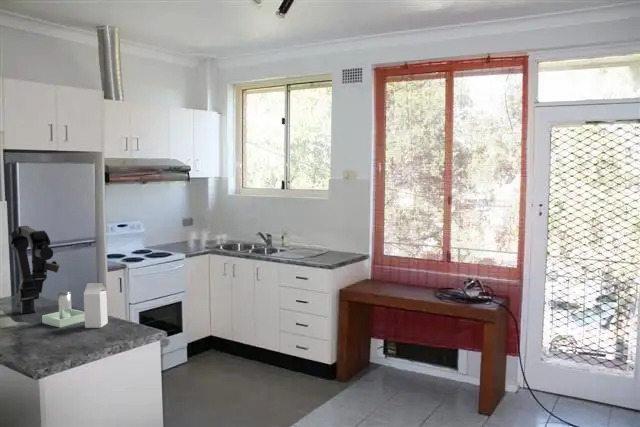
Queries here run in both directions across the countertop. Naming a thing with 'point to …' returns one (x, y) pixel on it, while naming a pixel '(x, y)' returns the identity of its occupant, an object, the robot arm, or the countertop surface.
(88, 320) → the milk carton
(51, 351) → the countertop surface
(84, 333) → the countertop surface
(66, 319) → the tray
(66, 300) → the steel canister
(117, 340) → the countertop surface
